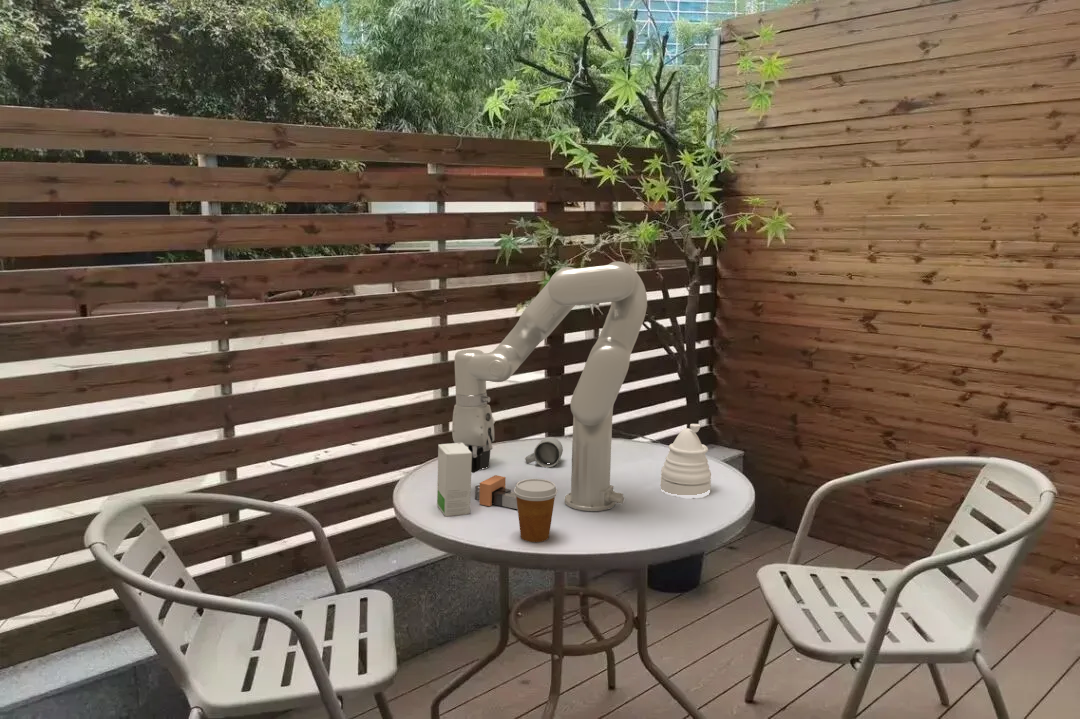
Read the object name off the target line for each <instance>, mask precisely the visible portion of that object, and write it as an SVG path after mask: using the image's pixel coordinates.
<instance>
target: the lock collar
mask: <svg viewBox="0 0 1080 719" xmlns="http://www.w3.org/2000/svg"><path fill="white" fill-rule="evenodd" d="M479 485H480V495H479V500H478V501H479V505H480V506H481V505H483V506H486V507H491V506H492V505H493V504H492V492H493V491H495V490H497V489H498V488H500V487H501V488H506V476H501V475H498V474H497V475H496V474H495V475H492V476H490V477H489V478H486V479H485V480H482V481H481V482H479Z"/></svg>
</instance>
